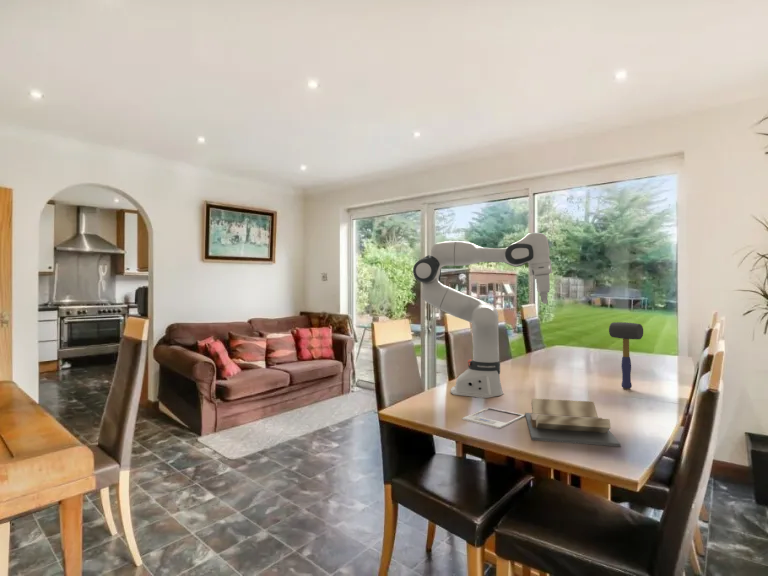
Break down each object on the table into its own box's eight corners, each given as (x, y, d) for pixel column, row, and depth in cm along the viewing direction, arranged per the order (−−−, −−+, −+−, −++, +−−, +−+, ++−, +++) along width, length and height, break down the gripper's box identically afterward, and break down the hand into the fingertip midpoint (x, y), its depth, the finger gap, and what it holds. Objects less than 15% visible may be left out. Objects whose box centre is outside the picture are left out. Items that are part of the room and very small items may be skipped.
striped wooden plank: (532, 427, 135) (532, 419, 135) (530, 420, 142) (530, 413, 142) (607, 432, 130) (607, 424, 130) (601, 425, 137) (601, 417, 137)
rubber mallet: (608, 387, 191) (607, 322, 191) (616, 385, 196) (615, 321, 196) (638, 393, 181) (637, 323, 181) (645, 390, 186) (644, 322, 186)
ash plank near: (538, 423, 128) (537, 414, 129) (536, 428, 134) (535, 420, 135) (610, 427, 123) (609, 419, 124) (605, 432, 129) (604, 424, 130)
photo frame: (462, 417, 147) (488, 406, 160) (462, 420, 147) (488, 409, 160) (500, 426, 137) (525, 414, 150) (500, 430, 137) (525, 417, 150)
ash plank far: (533, 418, 143) (533, 413, 142) (531, 403, 149) (531, 398, 148) (597, 422, 138) (598, 417, 137) (592, 407, 144) (593, 401, 143)
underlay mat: (532, 439, 126) (532, 437, 126) (525, 414, 151) (525, 412, 152) (620, 446, 120) (620, 443, 120) (598, 419, 146) (597, 417, 146)
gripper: (531, 271, 188) (535, 302, 188) (533, 271, 169) (538, 305, 169) (546, 269, 187) (550, 300, 186) (550, 269, 167) (554, 303, 167)
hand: (544, 302), depth 177 cm, fingers open, 8 cm apart
